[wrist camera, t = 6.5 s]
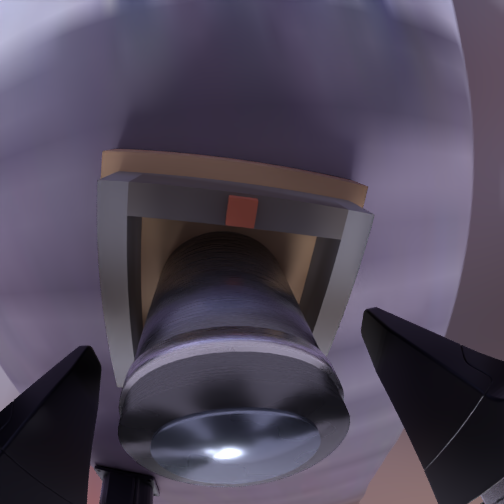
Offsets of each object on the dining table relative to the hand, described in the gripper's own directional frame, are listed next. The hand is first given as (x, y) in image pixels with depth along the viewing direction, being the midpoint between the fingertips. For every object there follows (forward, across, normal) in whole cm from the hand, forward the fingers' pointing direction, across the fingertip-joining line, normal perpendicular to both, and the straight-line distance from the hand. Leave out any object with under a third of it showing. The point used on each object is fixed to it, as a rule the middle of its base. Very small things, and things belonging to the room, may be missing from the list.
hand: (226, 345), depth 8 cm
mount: (+5, 0, 0) cm, 5 cm away
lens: (+3, 0, 0) cm, 3 cm away
